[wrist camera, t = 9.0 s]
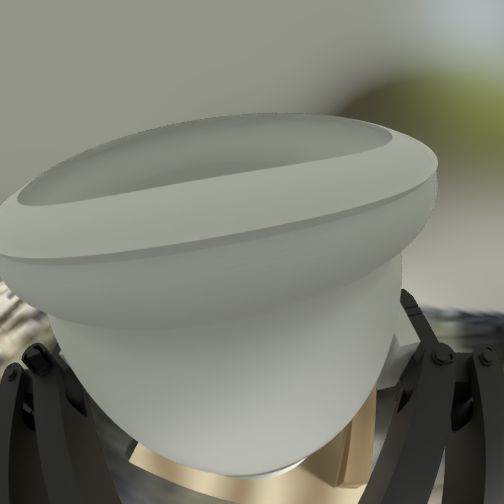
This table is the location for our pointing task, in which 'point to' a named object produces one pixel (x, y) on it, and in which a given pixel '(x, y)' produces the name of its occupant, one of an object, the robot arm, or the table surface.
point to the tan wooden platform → (295, 480)
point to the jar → (225, 278)
